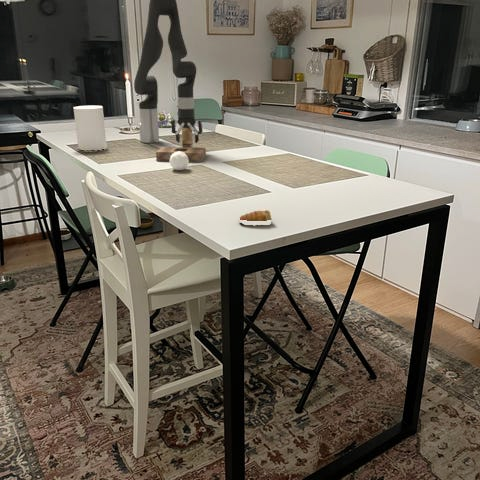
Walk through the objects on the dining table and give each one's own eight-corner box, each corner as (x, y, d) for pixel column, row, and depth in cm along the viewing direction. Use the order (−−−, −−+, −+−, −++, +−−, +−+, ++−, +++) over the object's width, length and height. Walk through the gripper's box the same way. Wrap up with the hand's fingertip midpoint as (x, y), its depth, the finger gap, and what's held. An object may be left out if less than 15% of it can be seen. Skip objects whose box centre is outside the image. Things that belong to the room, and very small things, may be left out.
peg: (182, 153, 232) (181, 127, 227) (184, 151, 236) (183, 126, 231) (191, 153, 231) (190, 128, 227) (192, 152, 235) (192, 126, 231)
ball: (181, 177, 201) (179, 164, 194) (167, 168, 203) (164, 155, 197) (193, 165, 204) (191, 153, 197) (179, 157, 207) (176, 144, 200)
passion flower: (162, 136, 306) (149, 121, 301) (165, 130, 315) (153, 115, 310) (176, 126, 302) (163, 110, 297) (178, 120, 312) (166, 105, 307)
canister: (99, 151, 235) (94, 109, 228) (73, 150, 238) (68, 108, 230) (111, 146, 247) (107, 105, 240) (86, 145, 250) (82, 105, 242)
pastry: (241, 228, 138) (241, 215, 137) (236, 221, 144) (236, 208, 143) (273, 226, 140) (273, 213, 138) (267, 219, 146) (267, 206, 144)
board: (156, 160, 217) (155, 151, 215) (163, 155, 228) (163, 146, 227) (200, 162, 215) (200, 153, 213) (205, 156, 226) (205, 147, 224)
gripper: (169, 108, 223) (170, 143, 229) (199, 108, 221) (200, 144, 227) (173, 106, 230) (174, 140, 236) (202, 106, 228) (203, 141, 234)
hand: (187, 142), depth 231 cm, fingers open, 8 cm apart
